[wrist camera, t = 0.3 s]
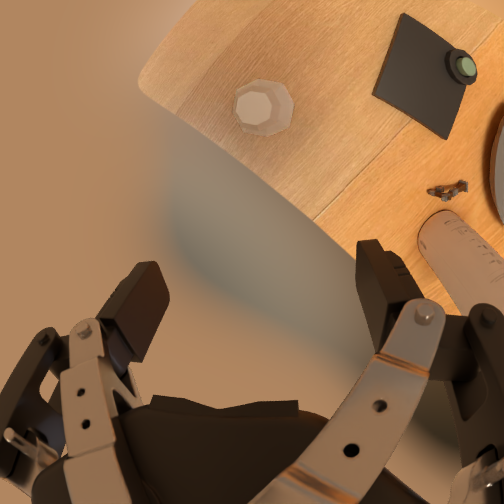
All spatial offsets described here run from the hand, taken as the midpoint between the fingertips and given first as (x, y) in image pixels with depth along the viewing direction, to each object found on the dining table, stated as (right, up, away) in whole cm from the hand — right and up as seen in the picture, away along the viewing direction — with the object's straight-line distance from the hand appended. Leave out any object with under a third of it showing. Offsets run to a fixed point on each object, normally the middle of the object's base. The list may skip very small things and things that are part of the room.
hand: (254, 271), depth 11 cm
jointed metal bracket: (+33, +12, +26) cm, 43 cm away
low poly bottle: (+2, +21, +24) cm, 32 cm away
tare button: (+32, +29, +13) cm, 45 cm away
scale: (+26, +27, +17) cm, 42 cm away
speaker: (+34, +4, +31) cm, 46 cm away
